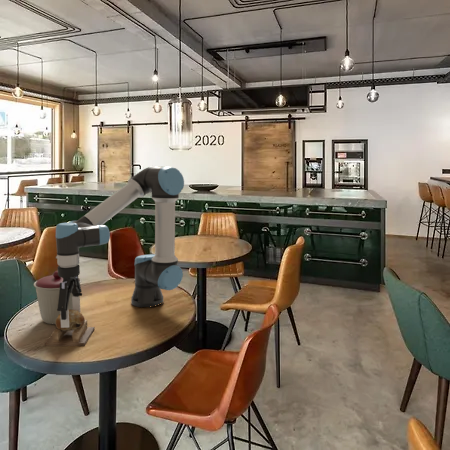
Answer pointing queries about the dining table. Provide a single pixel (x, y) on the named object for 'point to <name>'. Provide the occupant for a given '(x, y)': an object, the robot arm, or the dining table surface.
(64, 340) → the display stand
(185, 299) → the dining table surface
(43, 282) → the canister
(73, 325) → the bread roll
